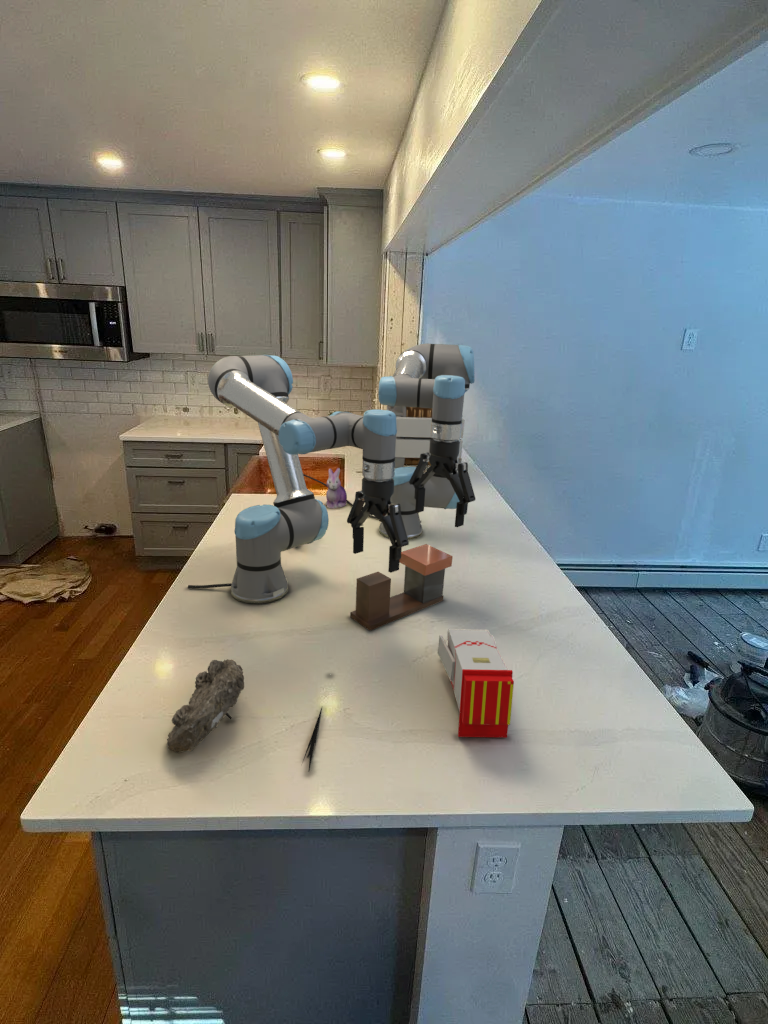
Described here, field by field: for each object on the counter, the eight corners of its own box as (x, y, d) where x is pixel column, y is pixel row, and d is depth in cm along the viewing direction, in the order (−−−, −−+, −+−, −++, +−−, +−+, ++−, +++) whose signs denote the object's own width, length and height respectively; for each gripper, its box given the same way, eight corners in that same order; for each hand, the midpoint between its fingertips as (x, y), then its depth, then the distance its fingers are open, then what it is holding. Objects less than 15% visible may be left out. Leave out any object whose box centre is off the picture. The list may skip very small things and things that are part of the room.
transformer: (382, 463, 289) (386, 382, 275) (445, 464, 293) (451, 384, 279) (390, 482, 257) (394, 392, 243) (460, 483, 261) (468, 394, 247)
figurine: (329, 510, 219) (330, 473, 214) (320, 502, 228) (320, 466, 222) (352, 507, 223) (353, 470, 218) (341, 499, 232) (342, 464, 227)
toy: (488, 613, 130) (523, 677, 101) (484, 667, 133) (517, 744, 104) (435, 612, 130) (455, 676, 101) (432, 666, 133) (451, 743, 103)
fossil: (192, 660, 117) (244, 628, 112) (224, 691, 120) (276, 661, 115) (142, 746, 98) (202, 712, 93) (182, 779, 101) (242, 748, 96)
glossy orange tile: (398, 566, 153) (399, 552, 152) (425, 557, 159) (426, 543, 158) (424, 580, 146) (425, 565, 145) (451, 570, 152) (452, 556, 151)
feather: (331, 679, 122) (336, 673, 122) (307, 777, 96) (313, 769, 95) (324, 675, 122) (329, 669, 121) (298, 772, 95) (304, 764, 95)
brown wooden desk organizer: (350, 617, 145) (351, 576, 141) (422, 589, 161) (425, 552, 157) (370, 630, 139) (371, 589, 135) (443, 600, 155) (446, 562, 152)
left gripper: (333, 468, 138) (333, 548, 145) (402, 494, 121) (398, 583, 128) (357, 464, 143) (356, 541, 150) (427, 488, 125) (421, 575, 132)
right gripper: (398, 432, 148) (394, 509, 155) (476, 450, 131) (467, 535, 138) (418, 429, 153) (413, 503, 160) (495, 446, 136) (486, 528, 143)
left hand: (375, 561), depth 139 cm, fingers open, 13 cm apart
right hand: (438, 518), depth 149 cm, fingers open, 13 cm apart
